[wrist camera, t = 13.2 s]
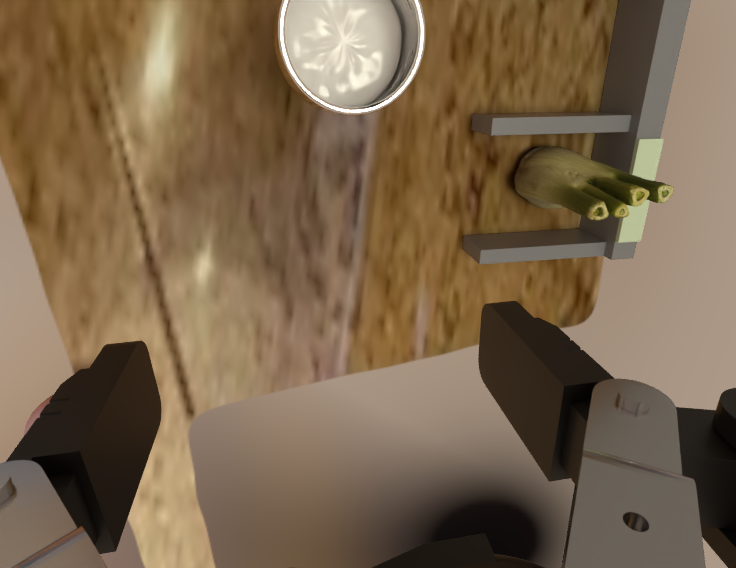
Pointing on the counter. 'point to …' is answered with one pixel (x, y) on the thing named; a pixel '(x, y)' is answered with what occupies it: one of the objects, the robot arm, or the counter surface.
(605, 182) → the fennel bulb
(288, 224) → the counter surface
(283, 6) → the beer glass
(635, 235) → the comb rack
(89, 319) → the counter surface
